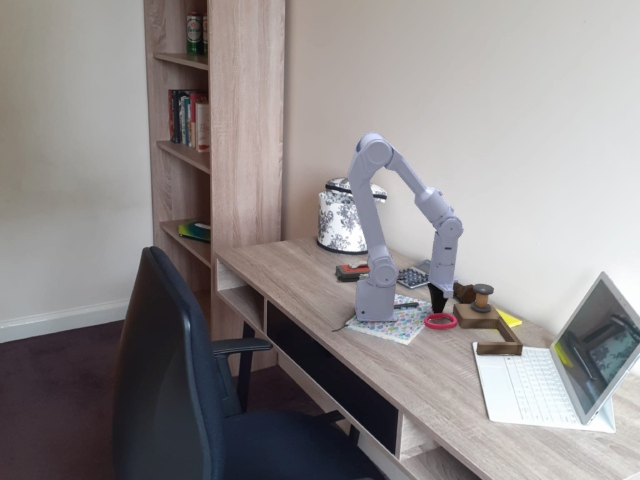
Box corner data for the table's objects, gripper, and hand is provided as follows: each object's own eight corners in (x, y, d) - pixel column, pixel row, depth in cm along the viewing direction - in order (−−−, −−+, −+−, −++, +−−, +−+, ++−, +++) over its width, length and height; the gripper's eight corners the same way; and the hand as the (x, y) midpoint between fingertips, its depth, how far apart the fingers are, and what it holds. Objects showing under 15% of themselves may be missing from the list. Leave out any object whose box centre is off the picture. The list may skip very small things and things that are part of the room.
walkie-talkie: (340, 286, 161) (407, 281, 167) (341, 271, 160) (409, 266, 165) (330, 274, 169) (395, 269, 175) (331, 259, 168) (396, 255, 173)
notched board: (477, 354, 129) (479, 344, 128) (452, 312, 148) (453, 303, 147) (521, 355, 130) (523, 345, 129) (490, 313, 149) (492, 304, 148)
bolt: (435, 288, 167) (471, 309, 154) (423, 282, 164) (458, 303, 151) (444, 270, 167) (481, 289, 154) (433, 264, 164) (469, 283, 151)
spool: (473, 312, 143) (477, 291, 141) (468, 304, 148) (471, 283, 146) (493, 313, 143) (496, 292, 142) (486, 304, 148) (490, 283, 146)
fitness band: (448, 316, 147) (448, 311, 146) (461, 327, 142) (462, 321, 141) (419, 320, 144) (419, 315, 143) (431, 331, 139) (432, 326, 138)
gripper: (468, 273, 135) (461, 326, 139) (451, 250, 149) (445, 299, 153) (438, 272, 134) (432, 326, 139) (423, 250, 148) (418, 299, 153)
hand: (437, 312), depth 146 cm, fingers closed
